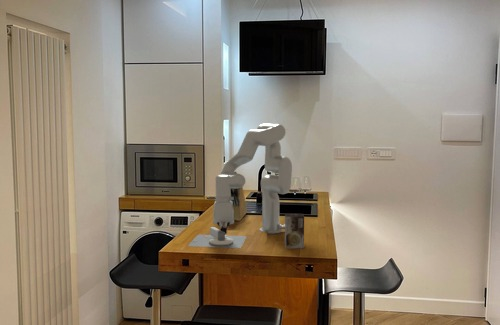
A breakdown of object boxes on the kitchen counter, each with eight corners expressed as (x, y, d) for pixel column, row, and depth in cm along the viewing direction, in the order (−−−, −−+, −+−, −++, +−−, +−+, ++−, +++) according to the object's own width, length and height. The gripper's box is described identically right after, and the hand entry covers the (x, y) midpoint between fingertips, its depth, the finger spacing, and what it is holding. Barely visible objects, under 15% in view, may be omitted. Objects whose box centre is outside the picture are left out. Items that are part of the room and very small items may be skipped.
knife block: (218, 223, 301) (218, 172, 298) (230, 212, 336) (230, 166, 333) (237, 224, 299) (237, 172, 296) (247, 213, 334) (247, 166, 331)
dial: (237, 243, 249) (237, 233, 248) (214, 246, 244) (214, 235, 243) (222, 235, 265) (222, 226, 264) (201, 238, 260) (201, 228, 259)
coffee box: (302, 245, 254) (303, 213, 252) (304, 248, 248) (304, 216, 246) (284, 245, 254) (284, 213, 252) (285, 248, 247) (286, 215, 246)
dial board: (246, 239, 265) (246, 235, 265) (240, 251, 242) (240, 247, 241) (198, 237, 268) (198, 234, 268) (187, 249, 244) (187, 245, 244)
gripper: (238, 198, 258) (239, 233, 260) (209, 198, 259) (210, 233, 261) (237, 200, 251) (237, 237, 253) (207, 200, 252) (207, 236, 254)
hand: (223, 235), depth 257 cm, fingers closed
